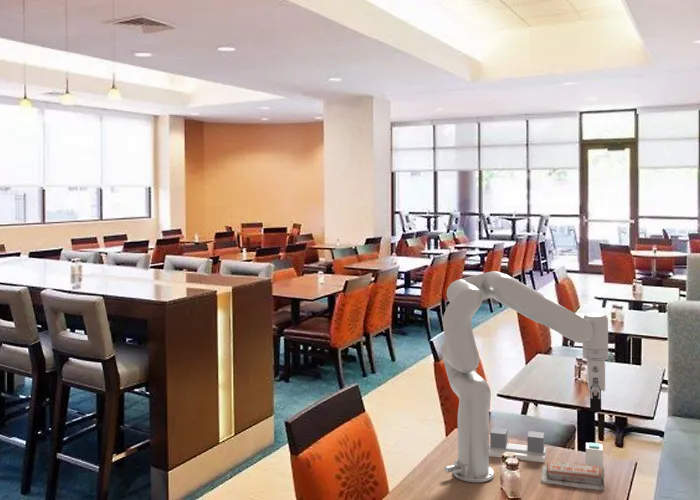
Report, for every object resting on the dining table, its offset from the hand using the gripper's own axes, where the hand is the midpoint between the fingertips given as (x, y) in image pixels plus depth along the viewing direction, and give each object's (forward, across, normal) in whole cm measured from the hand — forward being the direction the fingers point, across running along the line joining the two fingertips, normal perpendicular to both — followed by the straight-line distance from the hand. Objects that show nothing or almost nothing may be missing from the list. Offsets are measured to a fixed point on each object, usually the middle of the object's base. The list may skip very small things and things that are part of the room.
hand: (595, 405), depth 209 cm
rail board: (+19, +1, +25) cm, 31 cm away
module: (+20, 0, +1) cm, 20 cm away
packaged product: (+20, -13, +7) cm, 25 cm away
